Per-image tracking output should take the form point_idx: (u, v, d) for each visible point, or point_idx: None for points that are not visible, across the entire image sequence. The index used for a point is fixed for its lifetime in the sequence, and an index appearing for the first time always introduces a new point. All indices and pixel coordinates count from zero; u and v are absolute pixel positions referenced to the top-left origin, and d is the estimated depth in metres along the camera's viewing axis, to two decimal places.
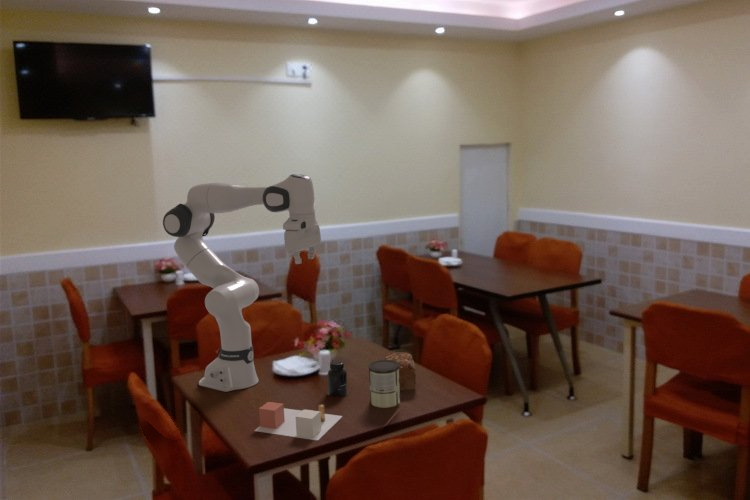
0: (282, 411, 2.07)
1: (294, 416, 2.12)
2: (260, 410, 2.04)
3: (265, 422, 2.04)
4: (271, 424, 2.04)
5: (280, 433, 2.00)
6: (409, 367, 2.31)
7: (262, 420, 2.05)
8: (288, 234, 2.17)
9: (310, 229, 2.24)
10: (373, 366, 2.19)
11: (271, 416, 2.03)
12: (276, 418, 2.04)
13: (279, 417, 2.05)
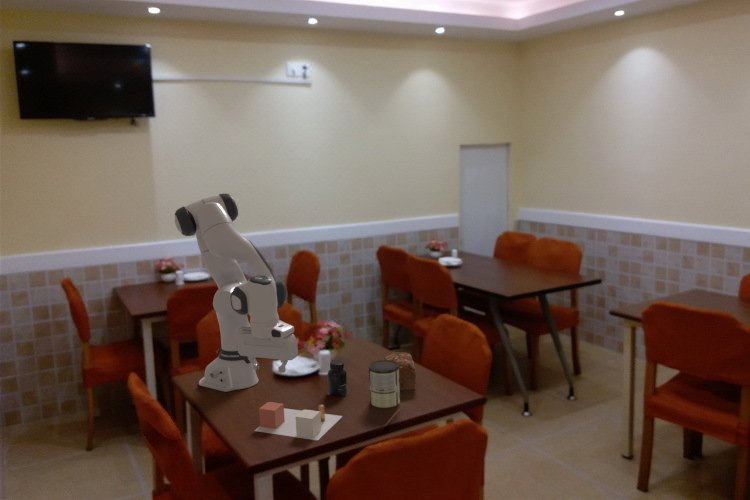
0: (282, 411, 2.07)
1: (294, 416, 2.12)
2: (260, 410, 2.04)
3: (265, 422, 2.04)
4: (271, 424, 2.04)
5: (280, 433, 2.00)
6: (409, 367, 2.31)
7: (262, 420, 2.05)
8: (291, 340, 1.99)
9: None
10: (373, 366, 2.19)
11: (271, 416, 2.03)
12: (276, 418, 2.04)
13: (279, 417, 2.05)
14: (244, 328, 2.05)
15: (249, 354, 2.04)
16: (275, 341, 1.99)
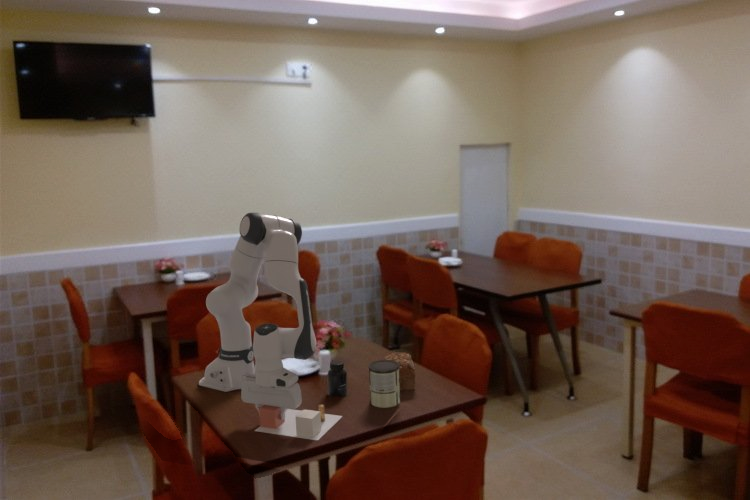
0: None
1: (294, 416, 2.12)
2: (260, 410, 2.04)
3: (265, 422, 2.04)
4: (271, 424, 2.04)
5: (280, 433, 2.00)
6: (408, 367, 2.31)
7: (262, 420, 2.05)
8: (295, 389, 2.01)
9: None
10: (373, 366, 2.19)
11: (271, 416, 2.03)
12: (276, 418, 2.04)
13: None
14: (248, 375, 2.07)
15: (252, 401, 2.06)
16: (279, 390, 2.01)
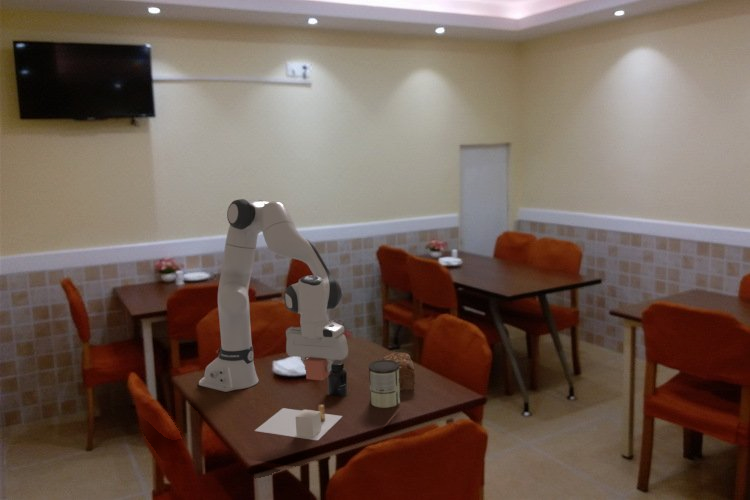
0: None
1: (294, 416, 2.12)
2: (306, 362, 2.03)
3: (311, 374, 2.03)
4: (318, 376, 2.02)
5: (280, 433, 2.00)
6: (408, 367, 2.31)
7: (308, 372, 2.03)
8: (342, 340, 2.00)
9: None
10: (373, 366, 2.19)
11: (317, 368, 2.02)
12: (322, 370, 2.02)
13: None
14: (293, 328, 2.06)
15: (298, 354, 2.05)
16: (326, 341, 2.00)
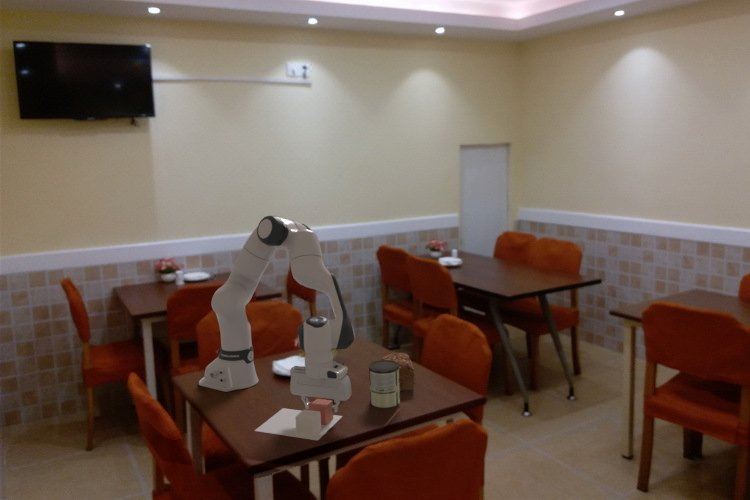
0: None
1: (294, 416, 2.12)
2: (310, 407, 2.06)
3: None
4: (321, 421, 2.05)
5: (280, 433, 2.00)
6: (407, 367, 2.31)
7: None
8: (346, 381, 2.02)
9: None
10: (373, 366, 2.19)
11: (321, 413, 2.04)
12: (326, 415, 2.05)
13: (329, 413, 2.07)
14: (297, 367, 2.08)
15: (301, 393, 2.07)
16: (330, 382, 2.02)
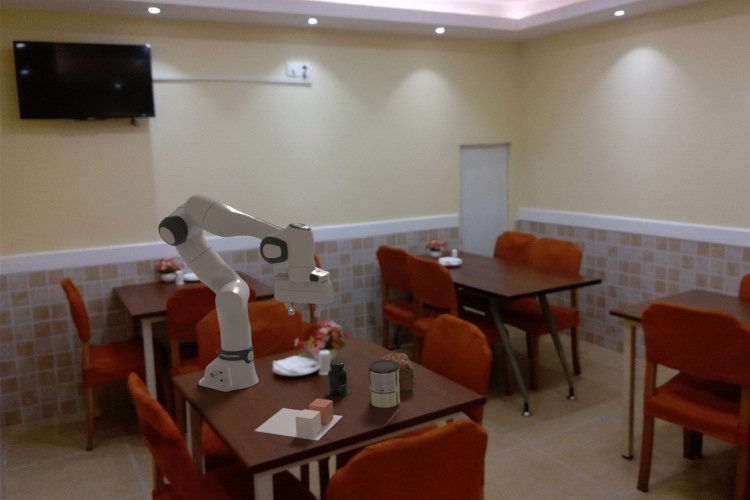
0: (331, 408, 2.08)
1: (294, 416, 2.12)
2: (310, 407, 2.06)
3: None
4: (321, 421, 2.05)
5: (280, 433, 2.00)
6: (407, 367, 2.31)
7: None
8: (328, 285, 2.07)
9: None
10: (373, 366, 2.19)
11: (321, 413, 2.04)
12: (326, 415, 2.05)
13: (329, 413, 2.07)
14: (281, 274, 2.12)
15: (285, 299, 2.12)
16: (312, 286, 2.07)
